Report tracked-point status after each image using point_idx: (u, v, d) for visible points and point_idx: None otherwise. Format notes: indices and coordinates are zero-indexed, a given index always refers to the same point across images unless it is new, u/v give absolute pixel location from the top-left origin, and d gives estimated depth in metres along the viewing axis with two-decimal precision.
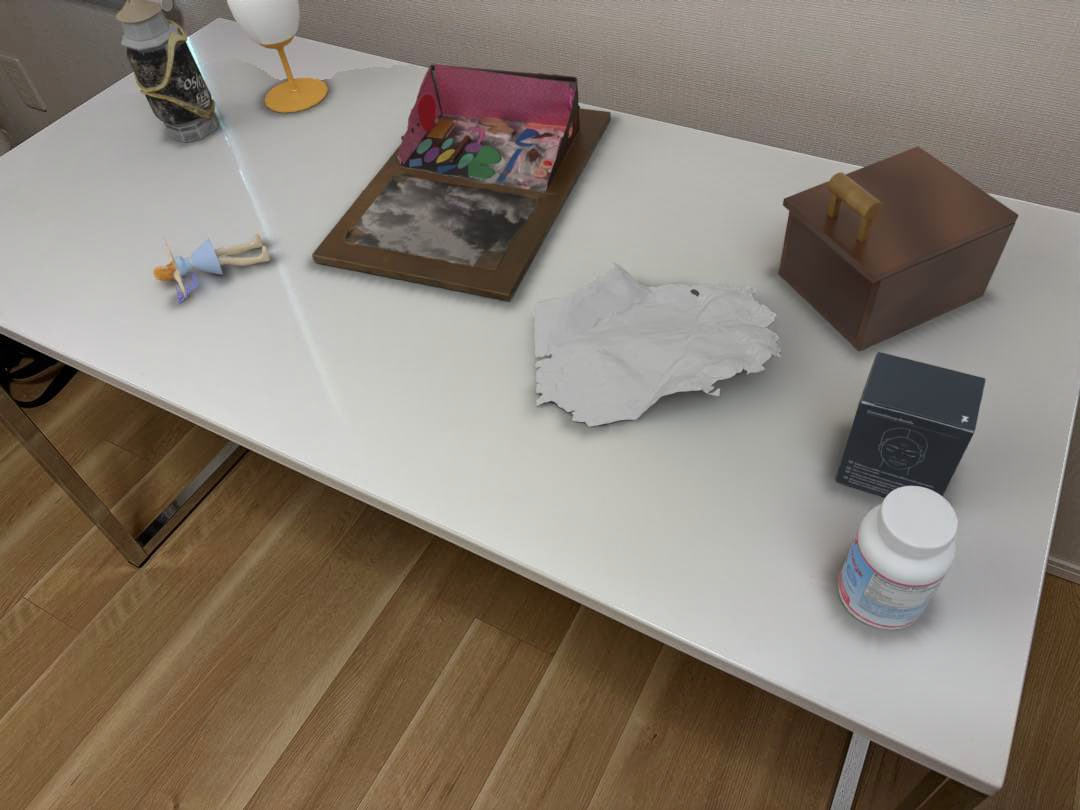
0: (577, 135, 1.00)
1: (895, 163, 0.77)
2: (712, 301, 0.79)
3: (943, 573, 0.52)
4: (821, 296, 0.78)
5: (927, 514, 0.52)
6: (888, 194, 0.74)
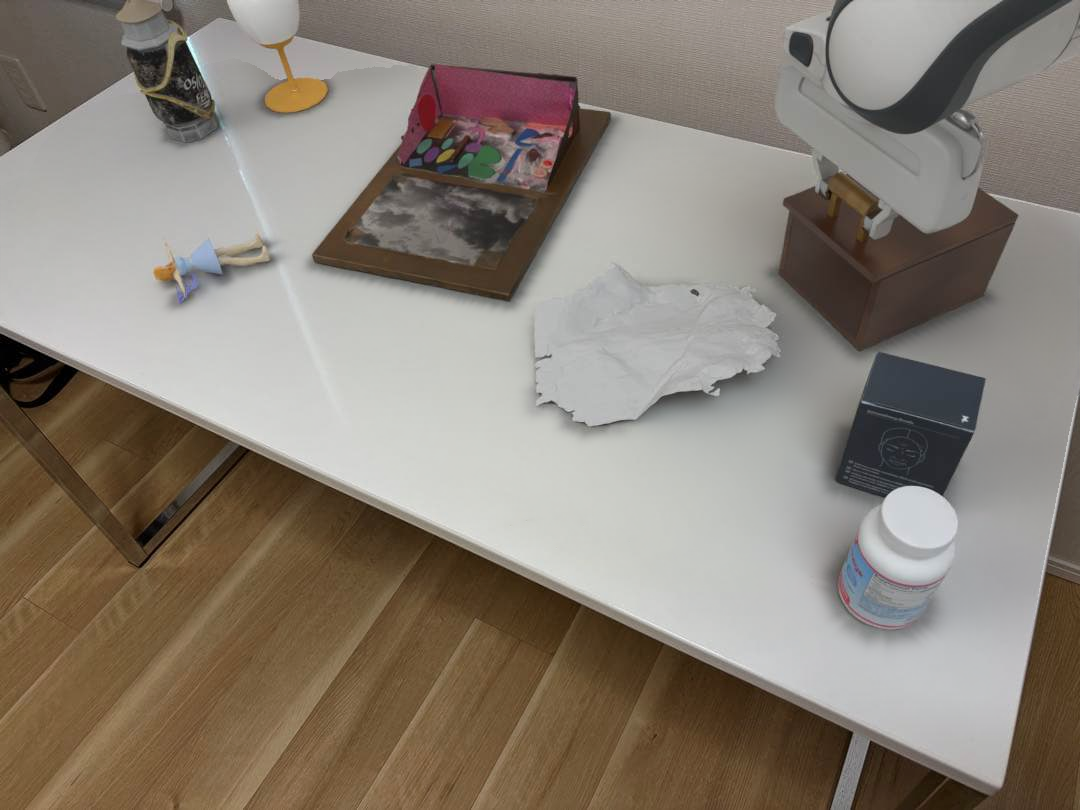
0: (577, 135, 1.00)
1: None
2: (712, 301, 0.79)
3: (943, 573, 0.52)
4: (821, 296, 0.78)
5: (927, 514, 0.52)
6: None
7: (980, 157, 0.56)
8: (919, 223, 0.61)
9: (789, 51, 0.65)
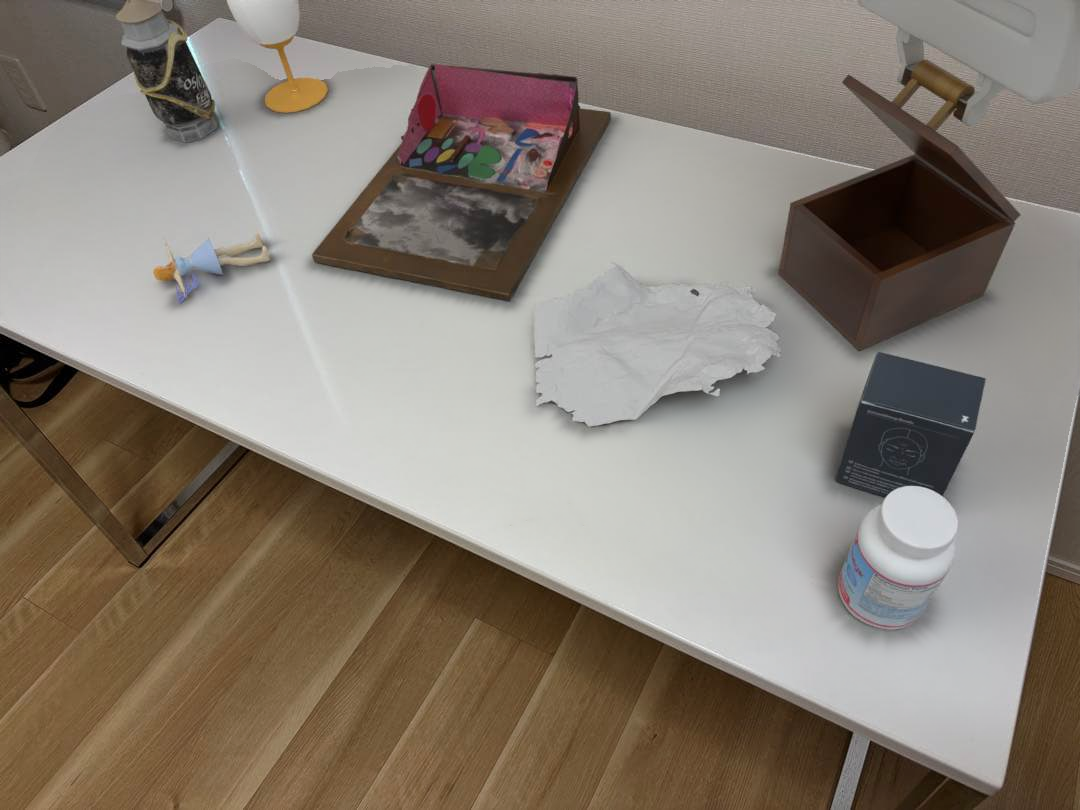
0: (577, 135, 1.00)
1: None
2: (712, 301, 0.79)
3: (943, 573, 0.52)
4: (821, 296, 0.78)
5: (927, 514, 0.52)
6: None
7: None
8: (1029, 92, 0.56)
9: None
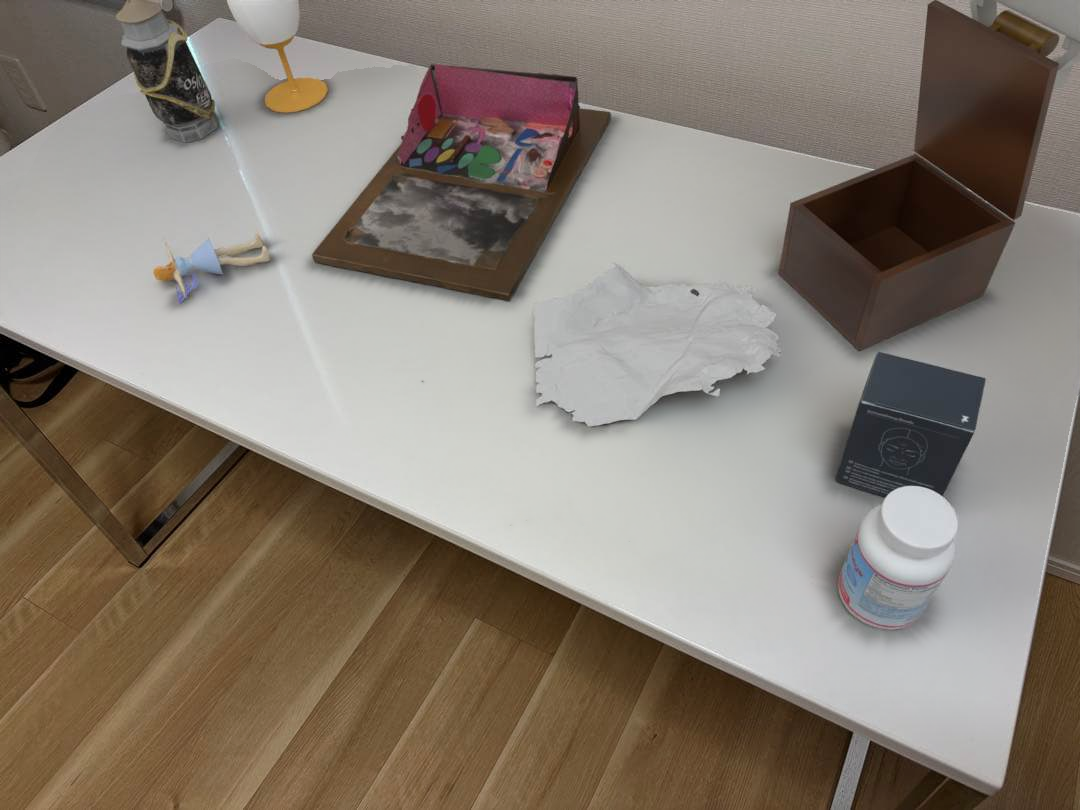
0: (577, 135, 1.00)
1: None
2: (712, 301, 0.79)
3: (943, 573, 0.52)
4: (821, 296, 0.78)
5: (927, 514, 0.52)
6: None
7: None
8: None
9: None
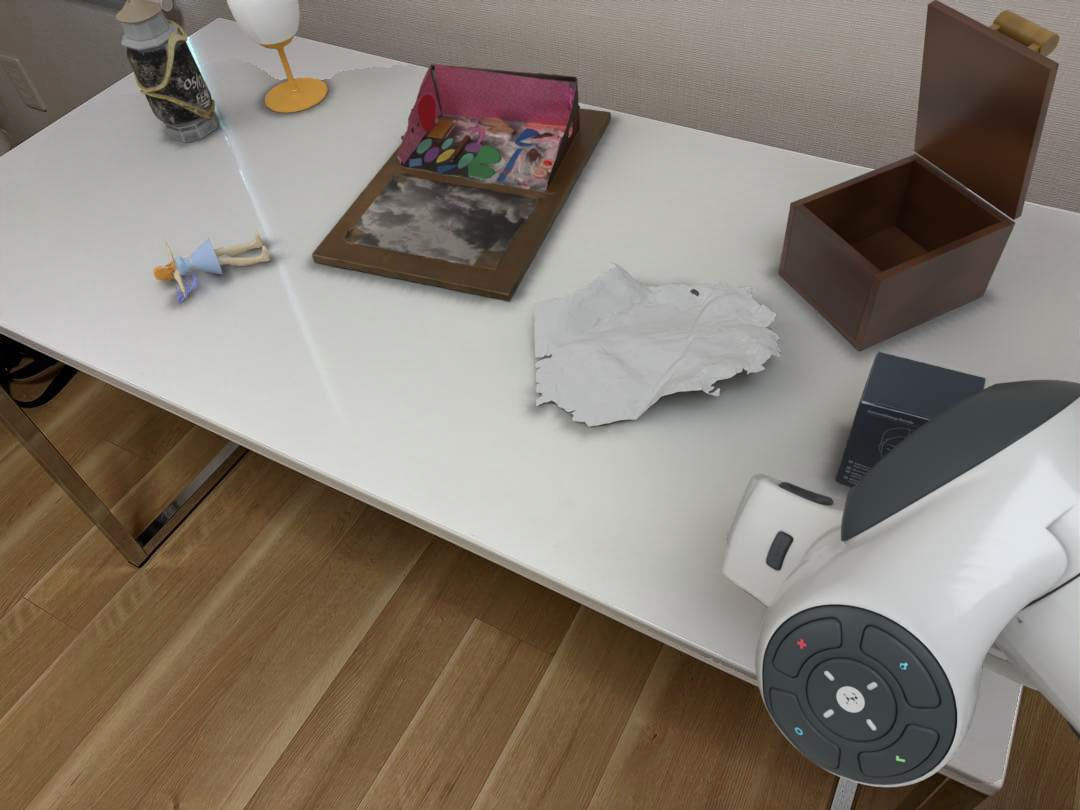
0: (577, 135, 1.00)
1: None
2: (712, 301, 0.79)
3: None
4: (821, 296, 0.78)
5: None
6: None
7: None
8: None
9: None
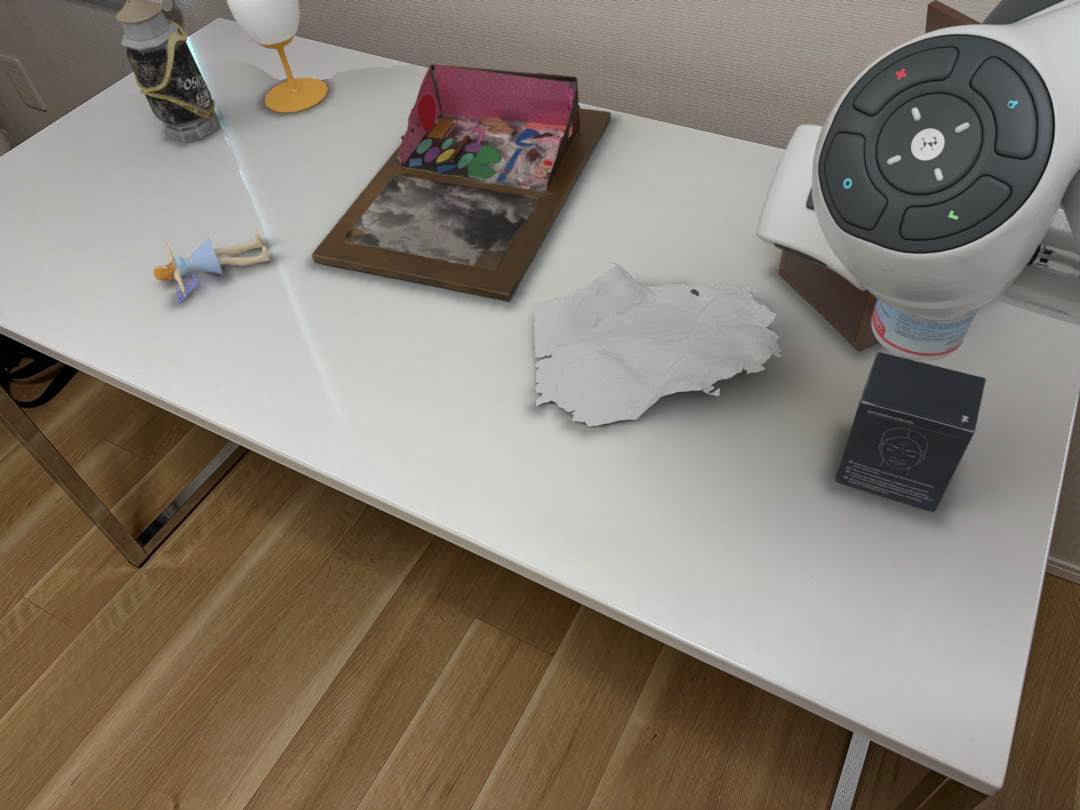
0: (577, 135, 1.00)
1: None
2: (712, 301, 0.79)
3: None
4: (821, 296, 0.78)
5: None
6: None
7: None
8: None
9: (779, 248, 0.45)
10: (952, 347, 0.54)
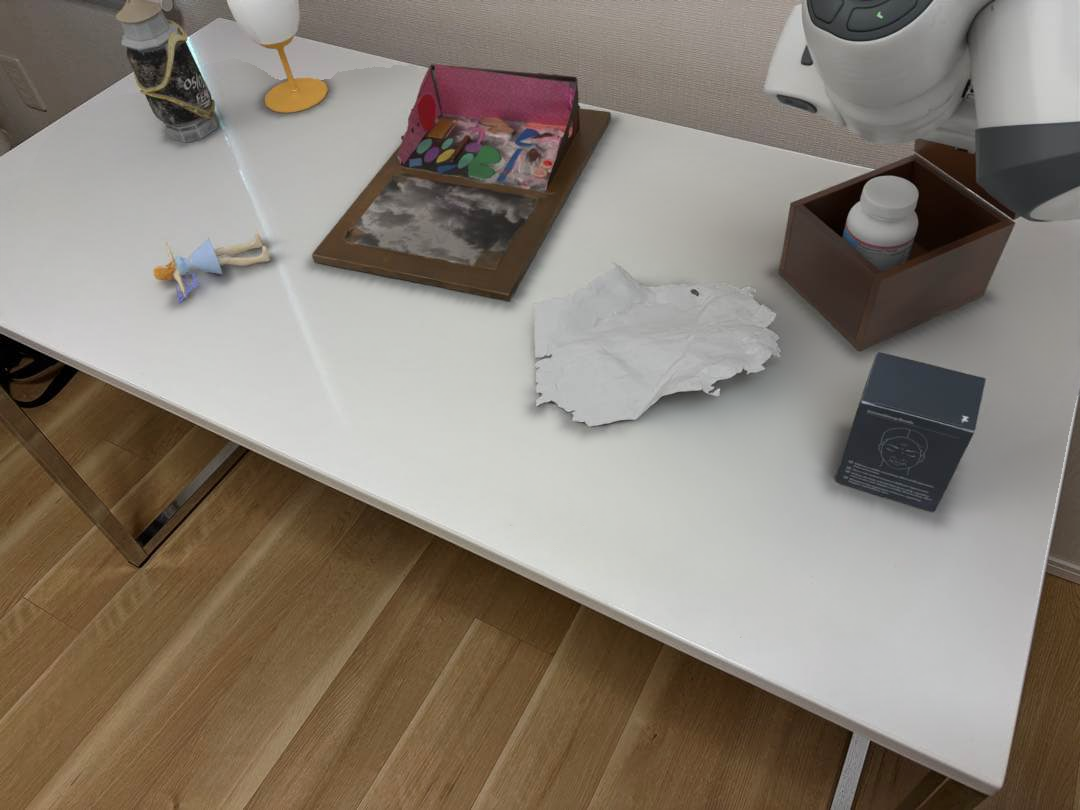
0: (577, 135, 1.00)
1: None
2: (712, 301, 0.79)
3: (908, 236, 0.72)
4: (821, 296, 0.78)
5: (896, 190, 0.71)
6: None
7: None
8: None
9: (781, 101, 0.60)
10: None
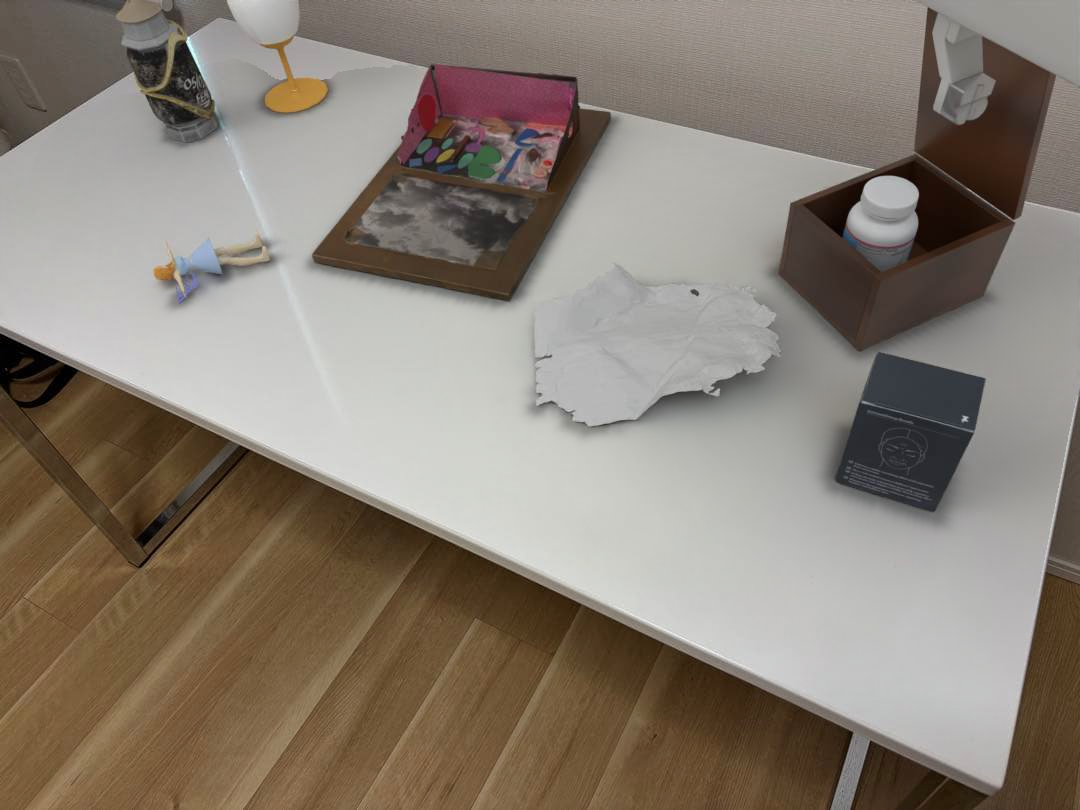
0: (577, 135, 1.00)
1: None
2: (712, 301, 0.79)
3: (908, 236, 0.72)
4: (821, 296, 0.78)
5: (897, 190, 0.71)
6: None
7: None
8: None
9: None
10: None
